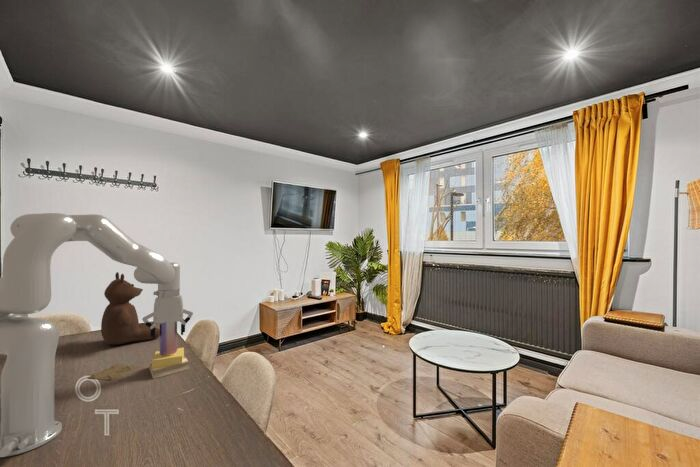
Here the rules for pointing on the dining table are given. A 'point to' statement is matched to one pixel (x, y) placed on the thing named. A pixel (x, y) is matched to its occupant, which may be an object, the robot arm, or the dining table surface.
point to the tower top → (168, 359)
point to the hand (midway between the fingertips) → (168, 336)
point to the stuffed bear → (123, 315)
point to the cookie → (114, 372)
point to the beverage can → (168, 338)
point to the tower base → (168, 368)
